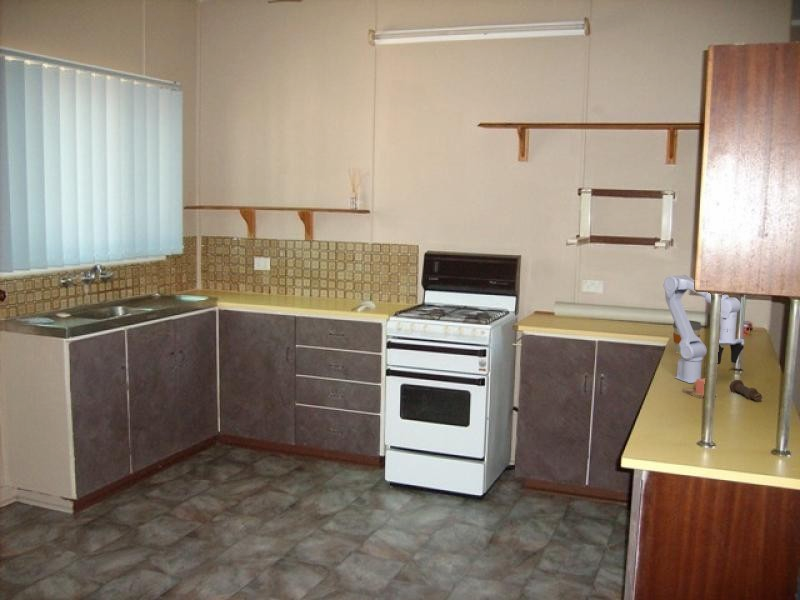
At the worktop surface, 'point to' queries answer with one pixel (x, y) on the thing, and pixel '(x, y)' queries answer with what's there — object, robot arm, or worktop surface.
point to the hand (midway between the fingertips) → (725, 363)
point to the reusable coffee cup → (695, 326)
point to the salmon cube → (700, 386)
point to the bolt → (745, 390)
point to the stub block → (693, 391)
